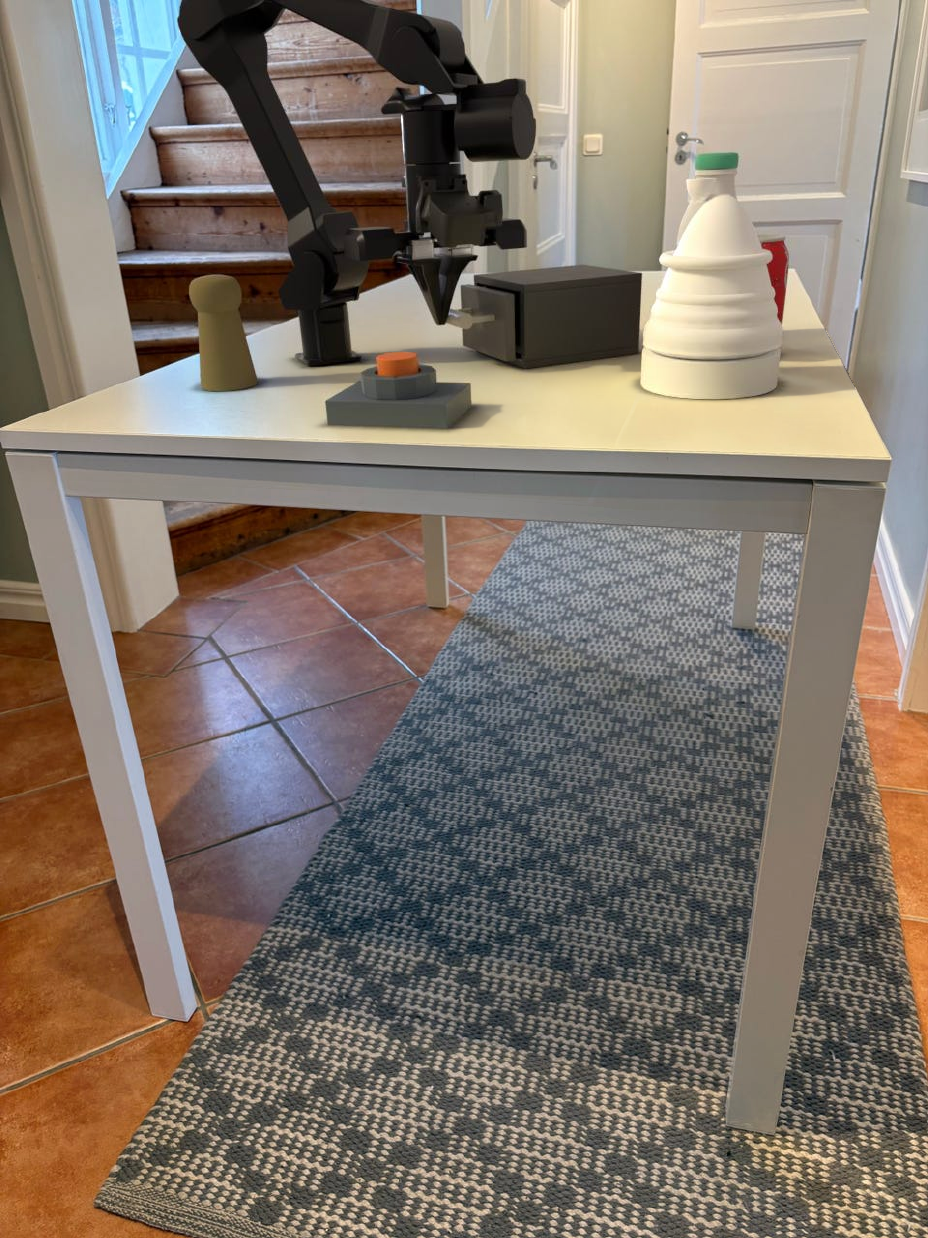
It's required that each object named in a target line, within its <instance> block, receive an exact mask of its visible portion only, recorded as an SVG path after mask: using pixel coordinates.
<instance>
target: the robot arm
mask: <svg viewBox="0 0 928 1238" xmlns="http://www.w3.org/2000/svg"><path fill="white" fill-rule="evenodd" d="M178 7H179V8H178V16H177V17H176V23H177V28H178V31H179V34H180V36H181V38H182V40H183V42H184V44H185V45H186V46H187V48H188V49H189V51H190V53H191V54H192V55H193V57H194V59H195V60H196V62H197V63H198V65H199V66H200V67H201V68H202V69H203V70H204V71H205V72H206V73H207V74H208V75H209V76H210V77H211V78H212V79H213V80H214V81H215V82H216V83H218V85H219V86H220V87H221V88H222V89H223V90H224V91H225V93H226V94H227V96H228V99H229V100H230V103H231V104H232V107H233V109H234V111H235V113H236V115H237V117H238V120H239V121H240V124H241V126H242V128H243V129H244V132H245V134H246V136H247V138H248V140H249V143H250V145H251V147H252V148H253V151H254V153H255V155H256V157H257V159H258V161H259V164H260V165H261V167H262V171H263V172H264V174H265V177H266V179H267V181H268V182H269V184H270V187H271V190H272V191H273V193H274V195H275V198H276V199H277V202H278V204H279V205H280V208H281V210H282V212H283V214H284V216H285V218H286V219H285V220H286V221H287V251H288V254H289V257H290V260H291V263H292V266H293V267H292V269H291V270H290V272H289V273H288V275H287V276H286V278H284V281H283V282H282V284H281V285H280V287H279V288H278V290H277V294H278V296H279V300H280V301H281V305H282V307H283V309H284V310H285V311H297V314H298V322H299V331H300V340H301V349H302V352H297V353H294V358H295V359H297V361H300V362H302V363H303V364H304V365H306V366H308V367H313V366H314V367H315V366H320V365H329V364H337V363H345V362H354V361H361V360H362V359H363V358H362V354H360V353H357V352H355V351H354V350H352V341H351V331H350V330H351V329H350V319H349V310H348V309H349V307H348V303H349V302H356V301H359V298H360V295H361V289H362V284H363V283H364V281H365V279H366V278H367V275H368V270H369V267H370V262H371V261H380V260H391V259H392V258H393V257H394V256H395V255H396V253H397V252H400V254H401V256H397V257H396V261H397V263H399V264H404V265H406V266H407V268H408V270H409V272H410V273H411V275H412V277H413V278H414V281H415V282H416V284H417V285H418V287H419V290H420V291H421V294H422V296H423V299H424V301H425V303H426V305H427V307H428V310H429V312H430V314H431V316H432V319H433V321H434V324H435V325H437V326H445V325H446V324H447V323H446V320H447V317H448V313H449V310H450V309H451V306H452V303H453V299H454V296H455V291H456V288H457V286H458V283H459V280H460V278H461V275H462V273H463V272H464V270H465V269H466V267H468V265H469V264H470V262H475V261H478V257H479V255H478V254H473V248H474V247H475V246H476V247H477V246H478V247H479V248H480V247H481V248H482V247H492V246H494V247H495V246H497V247H498V249H499V250H502V251H504V250H515V249H526V248H527V247H528V244H527V243H528V231H527V228H526V225H525V224H524V222H523V221H522V220H521V218H505V217H503V216H504V207H503V195H502V193H500V192H499V190H497V189H490V190H480V191H479V192H478V194H477V195H470V192H469V187H468V186H469V185H468V179H467V174H466V173H462V163H461V162H462V161H461V152H463V153H464V155H465V157H466V159H467V160H468V162H469V161H470V162H471V163H485V162H507V161H525V160H527V159H529V158H530V157H531V155H532V153H533V151H534V147H535V143H536V137H537V119H536V117H535V115H534V110H533V105H532V103H531V100H530V97H529V96H528V94H527V81H526V80H525V79H524V78H517V77H514V78H505V79H503V80H502V79H501V80H500V81H496V82H484V81H483V79H482V77H481V76H480V74H479V73H478V71H477V70H476V68H475V66H474V65H473V63H472V62H471V60H470V59H469V57H468V55H467V54H466V46H465V45H466V44H465V42H464V38H463V34H462V33H463V32H462V31H461V30H460V28H459V27H458V25H456V24H454V23H453V22H452V21H449V20H447V19H442V18H438V17H434V16H429V15H425V14H420V13H415V12H411V11H407V10H403V9H402V10H401V9H397V8H393V7H387V6H385V5H383V4H380V3H379V2H377V1H374V0H181V1H180V4H179V6H178ZM286 10H287V11H289V12H292V13H294V14H296V15H298V16H299V17H302V18H304V19H306V20H308V21H310V22H312V23H314V24H316V25H317V26H320V27H322V28H324V29H326V30H329V31H330V32H332V33H334V34H337V36H340V37H342V38H345V39H346V40H349V41H351V42H353V43H355V44H357V45H358V46H359V47H361V48H362V49H363V50H365V51H366V52H367V53H368V54H369V55H370V56H371V58H372V59H373V60H374V62H375V63H376V64H377V65H379V66H380V67H381V68H383V69H384V70H385V71H386V72H387V73H388V74H391V75H392V76H393V77H394V78H395V79H396V80H398V81H399V82H401V83H402V84H405V85H410V86H418V87H423V88H424V89H426V90H427V91H428V92H429V93H422V94H421V93H420V94H413V93H412V92H411V90H410V89H409V88H408V87H400V86H396V87H395V88H394V89H393V92H392V93H391V95H390V97H389V98H388V99H387V100H386V101H385V102H384V104H383V105H381V108H380V112H381V114H382V115H384V116H401V133H402V134H401V135H402V151H403V164H404V176H401V177H400V178H401V188H402V189H403V188H404V189H405V196H406V198H405V199H406V212H407V213H406V215H407V219H404V220H403V223H404V231H397V232H395V230H394V228H393V227H387V226H386V227H385V226H367V227H359V224H358V220H357V218H356V216H355V214H354V212H353V211H351V210H347V211H337V210H336V209H335V208H334V207H332V205H330V203H329V202H328V201H327V200H328V199H326V196H325V194H324V192H323V190H322V188H321V185H320V183H319V181H318V179H317V177H316V175H315V172H314V170H313V168H312V166H311V164H310V162H309V160H308V158H307V155H306V153H305V151H304V148H303V146H302V144H301V143H300V140H299V137H298V136H297V134H296V133H297V132H295V129H294V127H293V125H292V123H291V121H290V118H289V116H288V114H287V112H286V110H285V107H284V106H283V103H282V101H281V99H280V97H279V95H278V92H277V90H276V88H275V86H274V83H273V82H272V79H271V78H270V75H269V71H268V57H269V56H268V55H269V54H268V50H269V49H268V42H267V39H266V35H265V34H267V33H268V32H270V31H271V30H273V29H274V28H275V27H276V26H277V25H278V24H279V21H280V20H281V18H282V16H283V14H284V13H285V11H286ZM441 96H453V97H455V98H456V99H455V103H446V104H445V102H444V100H443V99H442V97H441ZM429 233H430V234H429ZM425 234H429V236H425ZM435 249H439V251H438V252H439V253H435Z"/></svg>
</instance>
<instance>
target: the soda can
mask: <svg viewBox="0 0 928 1238" xmlns="http://www.w3.org/2000/svg"><path fill="white" fill-rule="evenodd" d="M757 235H758V238H759V241H760V244H761V247H762V249H765V250H769V251H770V252H771V253H772V260H771V261H770V262H769V263H767V264H766V265H767V269H768V273H769V277H770V281H771V286H772V287H773V288H774V290H775V297H774V301H775V303H776V305H777V308H778V313H777V318H778V319H779V321H780V323H781V325H782V326H783V320H784V311H785V303H786V295H787V285H788V277H789V276H788V275H789V266H790V265H789V264H790V263H789V262H790V254H789V251H788V248H787V246H786V244H785V240H786V236H785V235H781V234H780V235H779V234H757Z"/></svg>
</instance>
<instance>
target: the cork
mask: <svg viewBox="0 0 928 1238" xmlns="http://www.w3.org/2000/svg"><path fill="white" fill-rule="evenodd" d="M188 287H189V288H188V295H189V299H190V302H191V305H192V306H193V307H194V308H195V310H196V311H197V323H198V325H197V326H198V346H199V347H198V348H199V370H200V371H199V372H200V374H199V375H200V389H201V390H204V391H207V392H208V391H209V392H231V391H239V390H244V389H248V388H252V387H254V386H257V385H258V384H259V379H258V375H257V372H256V368H255V364H254V361H253V358H252V354H251V351H250V346H249V343H248V340H247V339H248V338H247V335H246V332H245V328H244V324H243V321H242V318H241V317H242V316H241V313H240V311H239V307H240V305H241V303H242V297H243V296H242V295H243V294H242V289H241V286H240V283H239V282H238V281H237V279H236V278H235V277H233V276H231V275H225V274H207V275H203V276H202V275H201V276H200V277H196V278H194V279H193V280H191V281H190V284H189V286H188Z"/></svg>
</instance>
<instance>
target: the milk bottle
mask: <svg viewBox="0 0 928 1238" xmlns="http://www.w3.org/2000/svg"><path fill="white" fill-rule="evenodd" d="M738 167H739V152H734V151H733V152H731V151H730V152H729V151H728V152H708V153H698V154H696V157H695V163H694V170H695V171H694V176H695V179H699V178H716V184H715V187H714V190H713V192H712V194H730V196H732V197H734V198H735V199H737V200H738V197H737V193H736V187H735V179H736V175H737V174H738ZM705 203H706V202H701V203H698V202H695V201H694V200H692V198H691V199H690V201H689V204H688V205H687V208H686V210H685V212H684V214H683V217H682V219H681V221H680V224H679V227H678V231H677V237H676V247H675V249H676V248H677V246H678V244H679V242H680V240H681V238H682V236H683V234H684V232H685V230H686V229H687V227H688V225H689V223H690V222H691V220H692V219H693V217H694V216H695V214H696V213H697V211H698V210H699V209H700V208H701V207H702V206H703V205H704V204H705Z"/></svg>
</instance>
